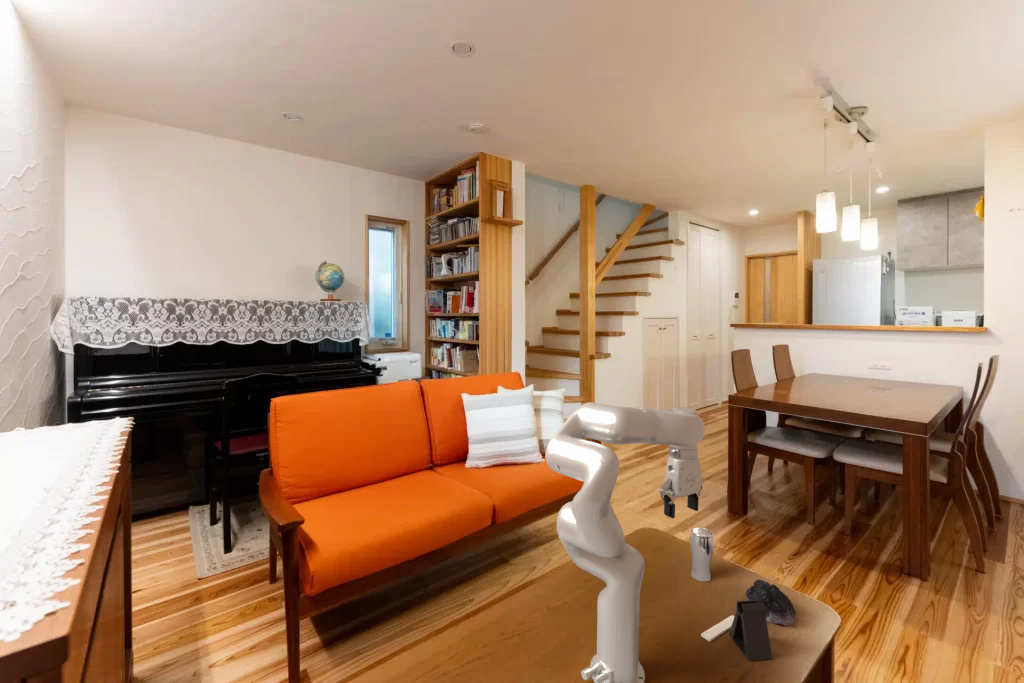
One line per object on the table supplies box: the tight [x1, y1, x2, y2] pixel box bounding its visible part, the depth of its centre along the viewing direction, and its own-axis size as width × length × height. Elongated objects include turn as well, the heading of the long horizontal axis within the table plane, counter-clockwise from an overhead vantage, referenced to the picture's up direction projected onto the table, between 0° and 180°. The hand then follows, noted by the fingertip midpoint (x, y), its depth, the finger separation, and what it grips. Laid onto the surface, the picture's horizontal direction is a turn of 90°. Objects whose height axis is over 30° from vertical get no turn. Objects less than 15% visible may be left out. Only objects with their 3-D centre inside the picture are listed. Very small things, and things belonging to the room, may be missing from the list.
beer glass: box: [689, 526, 714, 583], centre depth 144 cm, size 7×7×15 cm
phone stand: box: [728, 600, 773, 662], centre depth 113 cm, size 9×6×12 cm, turn 4°
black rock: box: [745, 578, 797, 626], centre depth 128 cm, size 13×14×10 cm
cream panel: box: [700, 614, 735, 642], centre depth 120 cm, size 14×2×1 cm, turn 122°
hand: (681, 512), depth 125 cm, fingers open, 9 cm apart
